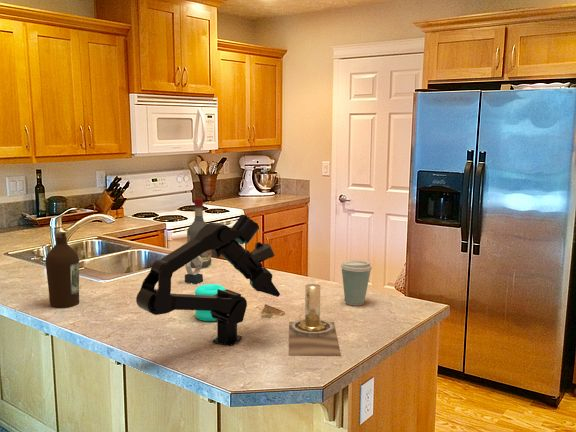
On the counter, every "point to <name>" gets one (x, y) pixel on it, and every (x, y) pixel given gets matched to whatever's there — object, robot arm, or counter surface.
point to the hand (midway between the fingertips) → (275, 290)
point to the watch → (194, 276)
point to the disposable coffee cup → (355, 281)
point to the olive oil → (62, 274)
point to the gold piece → (312, 310)
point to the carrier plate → (313, 341)
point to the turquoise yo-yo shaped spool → (207, 290)
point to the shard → (271, 312)
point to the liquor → (194, 230)
